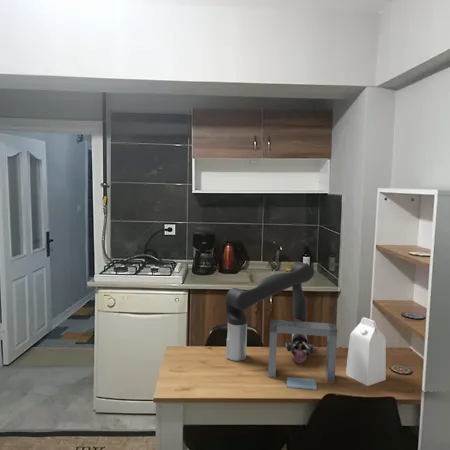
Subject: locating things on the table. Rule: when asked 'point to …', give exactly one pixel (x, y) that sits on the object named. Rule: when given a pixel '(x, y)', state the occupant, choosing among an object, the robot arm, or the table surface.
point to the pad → (301, 383)
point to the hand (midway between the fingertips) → (300, 353)
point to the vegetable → (300, 355)
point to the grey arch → (304, 329)
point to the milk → (367, 353)
